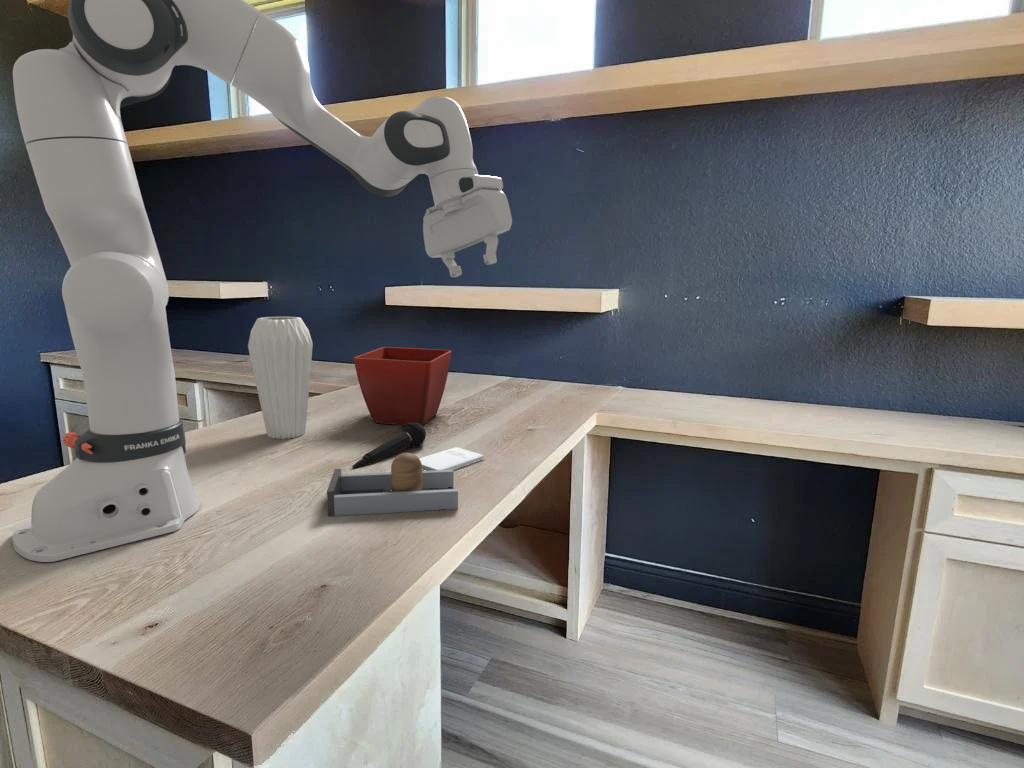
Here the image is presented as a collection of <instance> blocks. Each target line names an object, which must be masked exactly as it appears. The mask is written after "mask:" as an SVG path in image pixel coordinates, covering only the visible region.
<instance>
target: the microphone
mask: <svg viewBox="0 0 1024 768" xmlns="http://www.w3.org/2000/svg"><path fill="white" fill-rule="evenodd" d="M426 436H427V432H426V429H425V427H424V425H421V424H419V423H412V422H409V423H407V424H406V425H402V427H401V432H399V433H398V434H396V435H394V436H393V437H391V438H389V439H388V440H386V441H385V442H383V443H382V444H379V445H378V446H376V447H374V448H373V449H372V450H370V451H368V452H367V453H365V454H364V455H363V456H362V457H361V459H359V460H358V461H356V462H355V463H354V464H352V469H356V468H359V467H363V466H365V465H369V464H374V463H376V462H378V461H381V460H383V459H385V458H387V457H389V456H392V455H393V454H395V453H398V452H400V451H402V450H404V449H407V448H408V447H411V448H412V447H413V448H419V447H420V446H421V445H423V444H424V442H425V440H426ZM418 446H419V447H418Z"/></svg>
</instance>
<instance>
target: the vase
mask: <svg viewBox="0 0 1024 768" xmlns="http://www.w3.org/2000/svg"><path fill="white" fill-rule="evenodd" d="M247 343H248V344H247V349H248V353H249V358H250V359H249V360H250V362H251V367H252V372H253V377H254V381H255V385H256V389H257V393H258V394H257V395H258V400H259V403H260V409H261V414H262V418H263V423H264V427H265V431H266V435H267V437H268V438H271V439H276V440H279V439H282V440H285V439H289V440H290V438H293V439H295V438H296V437H297V438H298V437H300V436H304V434H306V431H307V430H306V429H307V420H308V419H307V417H308V405H309V394H310V382H311V381H310V380H311V371H312V370H311V369H312V357H313V347H314V346H313V340H312V337H311V333H310V330H309V328H308V327H307V326H306V324H305V322H304V320H303V319H302V317H298V316H297V317H296V316H265V317H257V318H256V320H255V322H254V324H253V326H252V328H251V330H250V334H249V339H248V342H247Z"/></svg>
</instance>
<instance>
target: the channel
mask: <svg viewBox="0 0 1024 768" xmlns="http://www.w3.org/2000/svg"><path fill="white" fill-rule="evenodd" d="M454 472H455V470H454V471H453V470H431V471H423V470H422V491H404V492H392V491H388V490H392V484H391V471H390V472H389V471H388V472H387V471H386V472H369V473H362V472H361V473H347V474H346V473H344V474H342V469H341V468H334V470H333V473H332V477H331V479H330V482H329V484H328V488H327V490H326V499H327V500H326V502H327V503H326V504H327V516H328V517H335V516H336V517H337V516H354V515H373V514H388V513H392V514H393V513H409V512H410V511H411V512H423V511H425V510H426V512H427V510H428V511H440V510H439V509H446V510H455V509H454V508H458V509H459V490H458V488H455V487H454V483H455V481H454ZM448 487H454V488H448ZM429 488H438V489H429ZM383 491H384V492H383Z"/></svg>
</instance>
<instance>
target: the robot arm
mask: <svg viewBox="0 0 1024 768" xmlns="http://www.w3.org/2000/svg"><path fill="white" fill-rule="evenodd" d="M67 17H68V18H67V19H68V23H69V27H70V31H71V32H72V41H70V42H69V44H67V45H66V46H65V47H61V48H58V49H55V48H54V49H52V48H43V49H41V48H39V49H36V50H32V51H29V52H26V53H24V54H22V55H20V56H19V57H18V59H16V60H15V63H14V64H13V67H12V79H13V81H12V82H13V91H14V92H13V93H14V102H15V106H16V111H17V112H16V113H17V117H18V122H19V126H20V130H21V133H22V134H21V135H22V137H23V141H24V144H25V148H26V152H27V153H28V158H29V161H30V163H31V167H32V170H33V173H34V176H35V181H36V184H37V186H38V189H39V193H40V195H41V199H42V202H43V206H44V208H45V211H46V213H47V215H48V217H49V218H50V219H49V220H51V222H52V224H53V226H54V229H55V232H56V233H57V236H58V238H59V240H60V243H61V244H62V247H63V250H64V252H65V254H66V257H67V259H68V262H69V265H70V267H69V269H68V270H67V271H66V272H65V276H64V278H63V281H62V286H61V287H62V288H61V294H62V300H63V302H64V303H63V304H64V308H65V312H66V317H67V322H68V326H69V330H70V334H71V338H72V342H73V343H72V344H73V345H74V350H75V352H76V353H75V354H76V357H77V360H78V364H79V367H80V372H81V376H82V381H83V387H84V388H83V389H84V394H85V402H86V409H87V415H88V423H89V429H87V430H86V431H85V432H84V433H82V434H81V435H80V434H78V433H76V432H73V431H70V432H67V433H65V434H64V436H63V437H62V439H61V441H62V443H63V444H64V445H65V446H67V447H68V448H71V449H74V450H75V451H74V452H75V456H76V458H75V460H73V461H72V462H71V463H69V465H67V466H66V467H65V468H63V469H62V470H61V471H60V472H59V473H58V474H57V475H55V476H54V477H53V478H52V479H50V480H49V481H48V482H47V483H46V484H44V485H43V486H41V488H39V490H38V491H36V494H35V495H34V497H33V500H32V505H31V514H30V522H27V523H24V524H22V525H19V527H18V528H16V529H15V531H14V532H13V533H12V547H13V549H14V551H15V552H16V553H17V554H18V555H19V556H21V557H23V558H25V559H26V560H29V561H33V562H40V563H53V562H58V561H61V560H62V561H63V560H65V559H70V558H74V557H77V556H81V555H86V554H89V553H90V554H91V553H93V552H94V553H95V552H97V551H98V552H99V551H100V550H102V551H103V550H104V549H108V548H114V547H118V546H121V545H125V544H129V543H133V542H138V541H141V540H144V539H149V538H150V539H151V538H153V537H157V536H161V535H165V534H169V533H173V532H176V531H178V530H179V529H181V528H182V525H183V524H184V522H185V521H186V520H187V519H189V518H190V517H191V516H193V515H194V514H195V513H196V512H197V511H198V510H199V509H200V507H201V502H200V500H199V498H198V496H197V494H196V491H195V489H194V487H193V483H192V481H191V477H190V474H189V470H188V466H187V462H186V457H185V456H186V455H185V454H186V452H187V450H186V444H187V443H186V441H187V440H186V433H185V428H184V421H183V420H182V419H181V418H180V414H179V403H178V402H179V401H178V392H177V384H176V374H175V365H174V361H173V355H172V348H171V342H170V334H169V325H168V319H167V310H166V306H168V302H169V298H170V289H169V284H168V280H167V278H166V274H165V271H164V267H163V263H162V259H161V256H160V252H159V250H158V247H157V243H156V240H155V236H154V234H153V231H152V230H153V229H152V226H151V223H150V220H149V217H148V213H147V211H146V208H145V204H144V200H143V197H142V193H141V189H140V186H139V181H138V178H137V175H136V170H135V167H134V166H135V165H134V163H133V160H132V155H131V152H130V149H129V144H128V140H127V137H126V133H125V129H124V125H123V121H122V116H121V108H124V107H127V106H130V105H133V104H136V103H140V102H144V101H148V100H151V99H153V98H154V99H155V98H156V97H157V96H159V95H161V94H162V93H163V92H164V91H165V90H166V89H167V87H168V85H170V82H171V78H172V75H173V69H174V67H176V66H190V67H195V68H199V69H200V70H201V69H202V70H203V71H208V72H210V73H211V74H212V75H214V76H216V77H217V78H219V79H221V81H224V82H226V83H227V84H229V85H231V86H232V87H233V88H235V89H238V91H241V92H242V93H244V95H246V96H248V97H250V98H251V99H253V101H256V102H257V103H259V104H260V105H261V106H263V107H264V108H265V109H266V110H268V111H269V112H270V113H271V114H272V115H273V116H274V117H275V118H276V119H277V120H278V121H279V122H280V123H281V124H282V125H284V126H285V127H286V128H287V129H288V130H290V131H291V132H292V133H294V134H295V135H297V136H298V137H300V138H301V139H303V140H304V141H305V142H307V143H308V144H310V145H312V146H313V147H314V148H315V149H317V150H318V151H321V152H322V153H323V154H325V155H326V156H328V157H329V158H330V159H332V160H334V161H335V162H336V163H338V164H339V165H341V166H342V167H343V168H345V169H346V170H347V171H348V172H349V173H350V174H351V175H352V176H353V177H354V178H355V179H356V180H357V182H358V183H359V184H360V185H361V186H362V187H363V188H365V189H366V190H367V191H368V192H370V193H372V194H373V195H376V196H379V197H384V198H389V197H390V198H391V197H394V196H396V195H399V194H400V193H401V192H402V191H403V190H404V189H405V188H406V187H407V185H408V184H409V183H410V182H412V180H414V179H415V178H416V177H417V176H418V175H426V176H427V177H428V181H429V184H430V190H431V194H432V197H433V199H432V200H433V203H434V205H433V206H432V207H428V208H427V209H426V210H425V211H426V212H425V213H424V216H423V219H422V220H423V224H422V233H423V241H424V248H425V253H426V254H427V256H428V257H429V258H432V259H434V258H436V259H437V258H441V261H442V262H443V263H444V264H445V266H446V267H447V268H448V271H449V276H450V277H451V278H457V277H459V276H461V275H463V272H462V267H461V265H457V262H456V261H455V260H454V259H455V258H456V255H455V253H456V252H458V251H461V250H463V249H467V248H468V247H470V246H473V245H476V244H479V243H481V242H484V244H486V247H485V254H483V255H482V257H483V261H484V264H485V265H486V266H487V265H494V264H496V263H497V262H498V260H497V259H498V258H497V248H498V245H499V238H498V236H499V235H501V234H503V233H506V232H508V231H510V230H511V227H512V225H513V218H512V213H511V208H510V204H509V201H508V198H507V195H506V194H505V192H504V191H502V190H503V189H504V182H503V179H502V178H501V177H498V176H494V175H493V176H491V175H482V174H479V170H478V169H477V168H478V167H476V164H475V163H474V158H473V157H474V156H473V155H474V154H473V152H474V149H473V143H472V137H471V134H470V130H469V125H468V123H467V119H466V117H465V114H464V112H463V110H462V108H461V106H460V105H459V103H458V102H457V101H455V100H454V99H452V98H449V97H446V96H438V95H437V96H429V97H426V98H425V99H423V100H421V102H420V103H419V104H418V105H417V106H415V107H414V108H411V109H410V110H401V111H396V112H394V113H393V114H391V115H390V116H389V117H387V118H386V120H384V122H382V124H381V125H380V126H379V127H378V128H377V129H376V131H375V132H374V133H373V134H372V136H366V135H362V134H360V133H358V132H357V131H355V130H354V129H352V127H350V126H349V125H347V124H346V123H344V122H343V121H342V120H340V119H339V118H338V117H336V116H335V115H334V114H333V113H331V112H330V111H329V110H327V109H326V108H325V107H324V106H323V105H322V104H321V103H320V102H319V101H318V99H317V96H315V93H314V90H313V86H312V83H311V71H310V70H311V69H310V65H309V61H308V57H307V55H306V53H305V50H304V47H303V46H302V44H301V42H300V41H299V40H298V39H297V38H296V37H295V35H293V34H292V33H291V32H290V31H289V30H288V29H287V28H286V27H285V26H283V25H282V24H281V23H279V22H277V21H276V20H274V19H273V18H272V17H271V16H268V15H267V14H266V13H264V12H262V11H261V10H260V9H258V8H256V7H255V6H253V5H252V4H250V3H249V2H247V1H245V0H69V2H68V8H67Z"/></svg>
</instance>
